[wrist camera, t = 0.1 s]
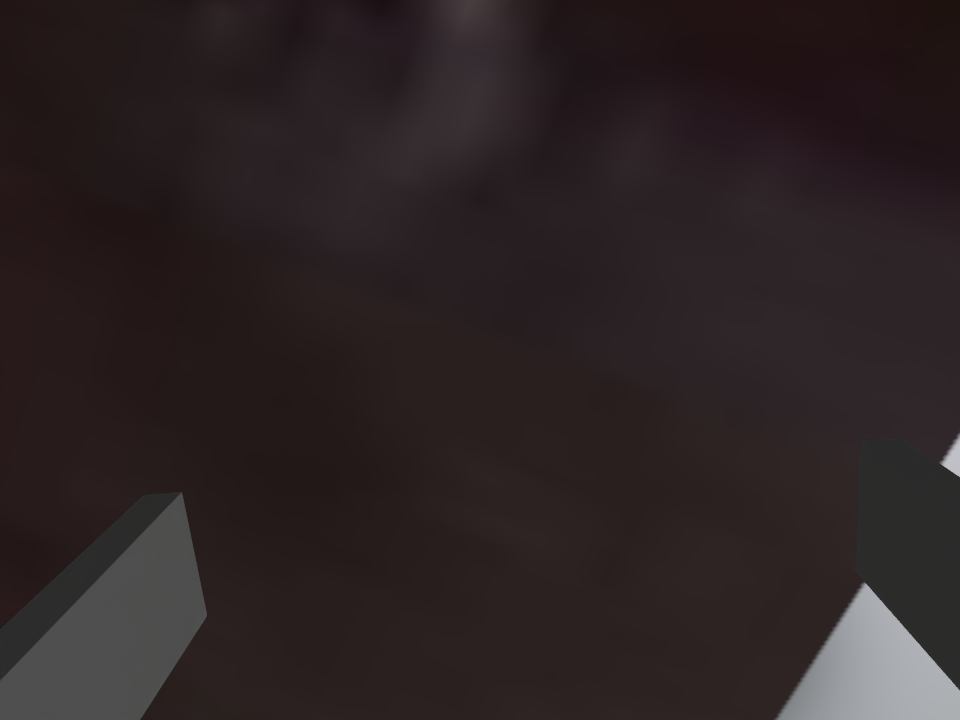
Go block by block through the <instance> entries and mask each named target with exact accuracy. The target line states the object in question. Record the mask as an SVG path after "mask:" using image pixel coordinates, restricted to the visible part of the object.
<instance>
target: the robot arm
mask: <svg viewBox="0 0 960 720" xmlns="http://www.w3.org/2000/svg"><path fill="white" fill-rule="evenodd" d="M856 572H857V574H858V575H859V576H860V577H861V578H862V579H863V580H864V582H865V583H866V584H867V585H868V586H869V587H870V588H871V589H872V591H873V592H874V593H875V594H876V595H877V596H878V598H879V599H880V600H881V601H882V602H883V603H884V604H885V606H886V607H887V608H888V609H889V610H890V611H891V612H892V614H893V615H894V616H895V617H896V618H897V619H898V620H899V621H900V623H901V624H902V625H903V626H904V627H905V628H906V629H907V631H908V632H909V633H910V634H911V635H912V636H913V637H914V639H915V640H916V641H917V642H918V643H919V644H920V645H921V647H922V648H923V649H924V650H925V651H926V652H927V653H928V655H929V656H930V657H931V658H932V659H933V660H934V661H935V662H936V664H937V665H938V666H939V667H940V668H941V669H942V670H943V672H944V673H945V674H946V675H947V676H948V677H949V678H950V679H951V681H952V682H953V683H954V684H955V685H956V687H958V689H959V690H960V477H959V476H957V475H955V474H954V473H953V472H951V471H950V470H948V469H947V468H945V467H944V466H942V465H941V464H939V463H938V462H937V461H935V460H934V459H932V458H931V457H929V456H928V455H926V454H925V453H923V452H922V451H920V450H919V449H917V448H916V447H914V446H913V445H911V444H910V443H909V442H907V441H906V440H904V439H903V438H891V439H878V440H865V441H860V460H859V488H858V517H857V545H856ZM206 616H207V613H206V608H205V603H204V599H203V594H202V589H201V584H200V579H199V574H198V569H197V564H196V559H195V554H194V549H193V545H192V540H191V535H190V530H189V525H188V520H187V515H186V510H185V505H184V500H183V496H182V492H179V493H166V494H153V495H144V496H142V497H141V498H140V499H139V500H138V501H137V502H136V503H135V504H134V505H133V506H132V507H131V508H130V509H129V510H128V511H126V512H125V513H124V514H123V515H122V516H121V517H120V518H119V519H118V520H117V521H116V522H115V523H114V524H113V525H111V526H110V527H109V528H108V529H107V530H106V531H105V532H104V533H103V534H102V535H101V536H100V537H99V538H98V539H96V540H95V541H94V542H93V543H92V544H91V545H90V546H89V547H88V548H87V549H86V550H85V551H84V552H83V553H82V554H80V555H79V556H78V557H77V558H76V559H75V560H74V561H73V562H72V563H71V564H70V565H69V566H68V567H67V568H65V569H64V570H63V571H62V572H61V573H60V574H59V575H58V576H57V577H56V578H55V579H54V580H53V581H52V582H51V583H49V584H48V585H47V586H46V587H45V588H44V589H43V590H42V591H41V592H40V593H39V594H38V595H37V596H36V597H34V598H33V599H32V600H31V601H30V602H29V603H28V604H27V605H26V606H25V607H24V608H23V609H22V610H21V611H20V612H18V613H17V614H16V615H15V616H14V617H13V618H12V619H11V620H10V621H9V622H8V623H7V624H6V625H5V626H3V627H2V628H1V629H0V720H140V719H141V717H142V716H143V714H144V713H145V711H146V709H147V708H148V706H149V705H150V703H151V702H152V700H153V699H154V697H155V695H156V694H157V692H158V691H159V689H160V688H161V686H162V685H163V683H164V682H165V680H166V678H167V677H168V675H169V674H170V672H171V671H172V669H173V668H174V666H175V664H176V663H177V661H178V660H179V658H180V657H181V655H182V654H183V652H184V650H185V649H186V647H187V646H188V644H189V643H190V641H191V640H192V638H193V637H194V635H195V633H196V632H197V630H198V629H199V627H200V626H201V624H202V623H203V621H204V619H205V618H206Z"/></svg>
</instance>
